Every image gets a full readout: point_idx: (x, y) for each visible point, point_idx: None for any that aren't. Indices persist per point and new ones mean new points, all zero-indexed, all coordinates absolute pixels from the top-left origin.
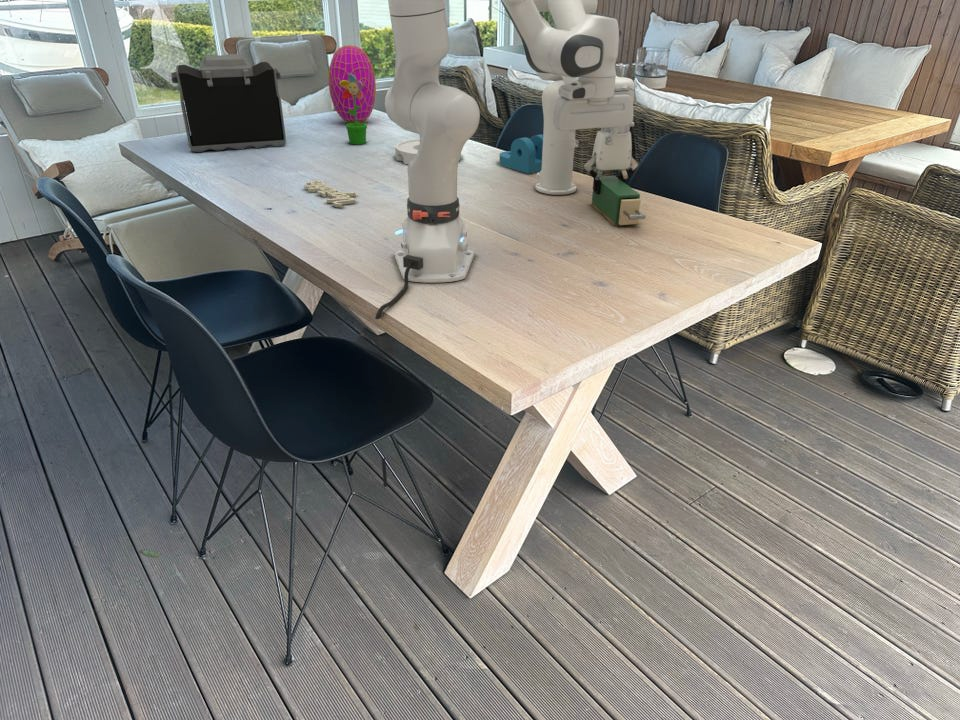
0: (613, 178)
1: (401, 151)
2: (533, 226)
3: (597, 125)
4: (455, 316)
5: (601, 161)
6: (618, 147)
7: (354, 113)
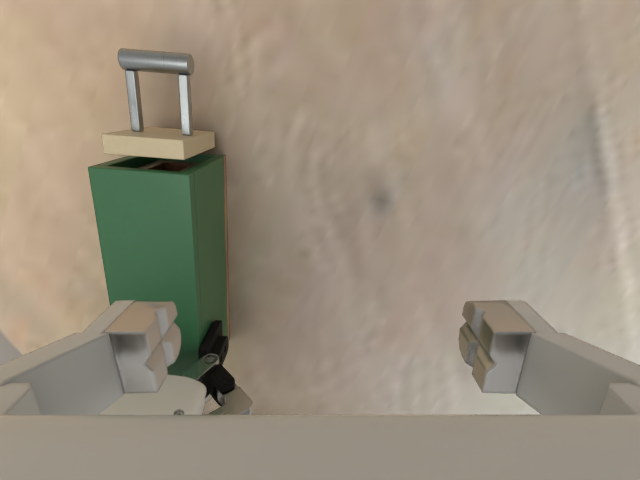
0: None
1: None
2: (475, 217)
3: (299, 441)
4: None
5: (178, 403)
6: None
7: None
